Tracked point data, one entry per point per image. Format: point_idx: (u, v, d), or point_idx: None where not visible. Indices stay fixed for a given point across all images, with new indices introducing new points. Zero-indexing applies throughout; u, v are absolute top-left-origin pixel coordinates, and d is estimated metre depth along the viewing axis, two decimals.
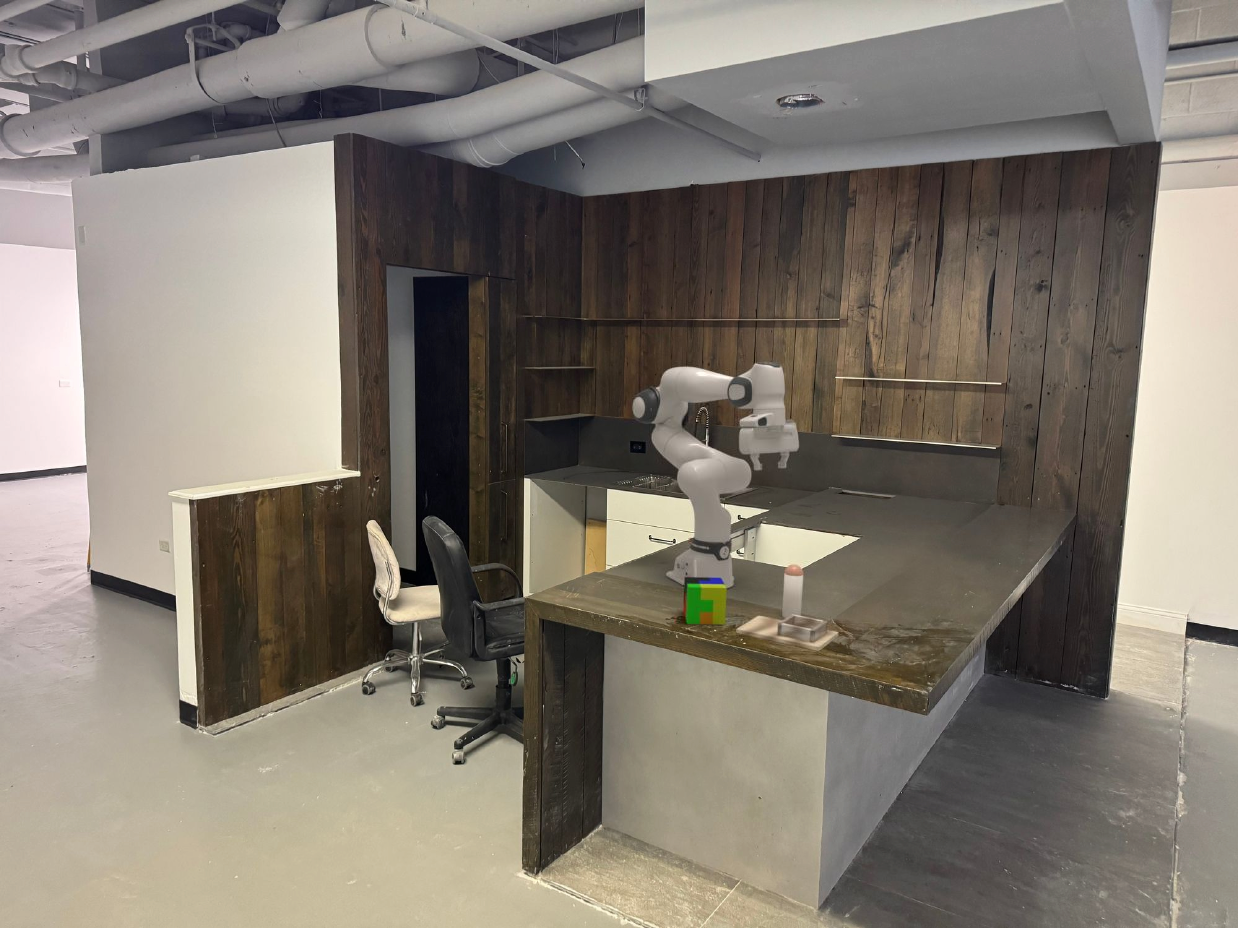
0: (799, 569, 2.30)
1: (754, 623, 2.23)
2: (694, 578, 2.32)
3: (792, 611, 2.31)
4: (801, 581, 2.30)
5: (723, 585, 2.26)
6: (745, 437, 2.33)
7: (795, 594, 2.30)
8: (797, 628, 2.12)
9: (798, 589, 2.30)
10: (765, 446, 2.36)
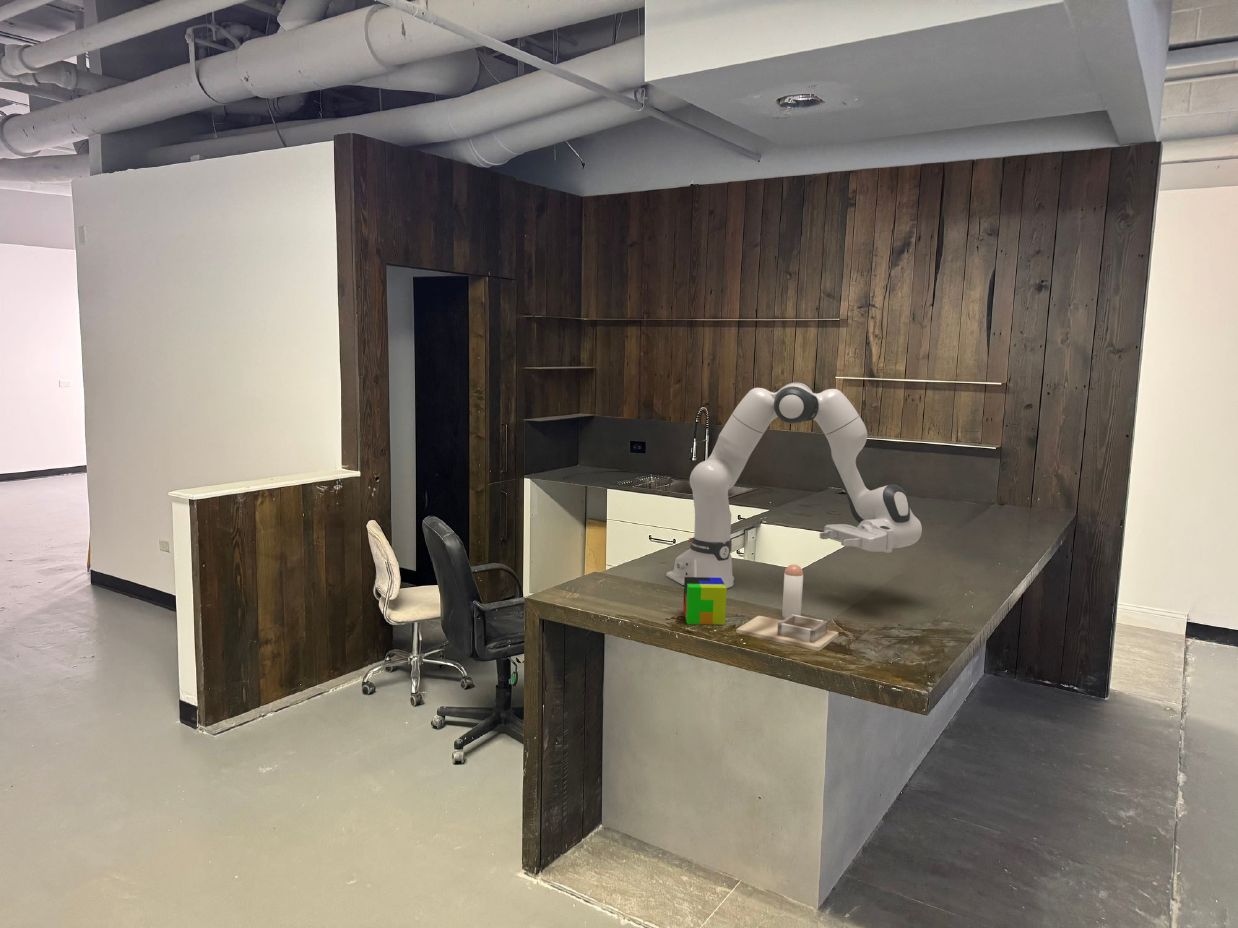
0: (799, 569, 2.30)
1: (754, 623, 2.23)
2: (694, 578, 2.32)
3: (792, 611, 2.31)
4: (801, 581, 2.30)
5: (723, 585, 2.26)
6: (882, 546, 2.30)
7: (795, 594, 2.30)
8: (797, 628, 2.12)
9: (798, 589, 2.30)
10: None
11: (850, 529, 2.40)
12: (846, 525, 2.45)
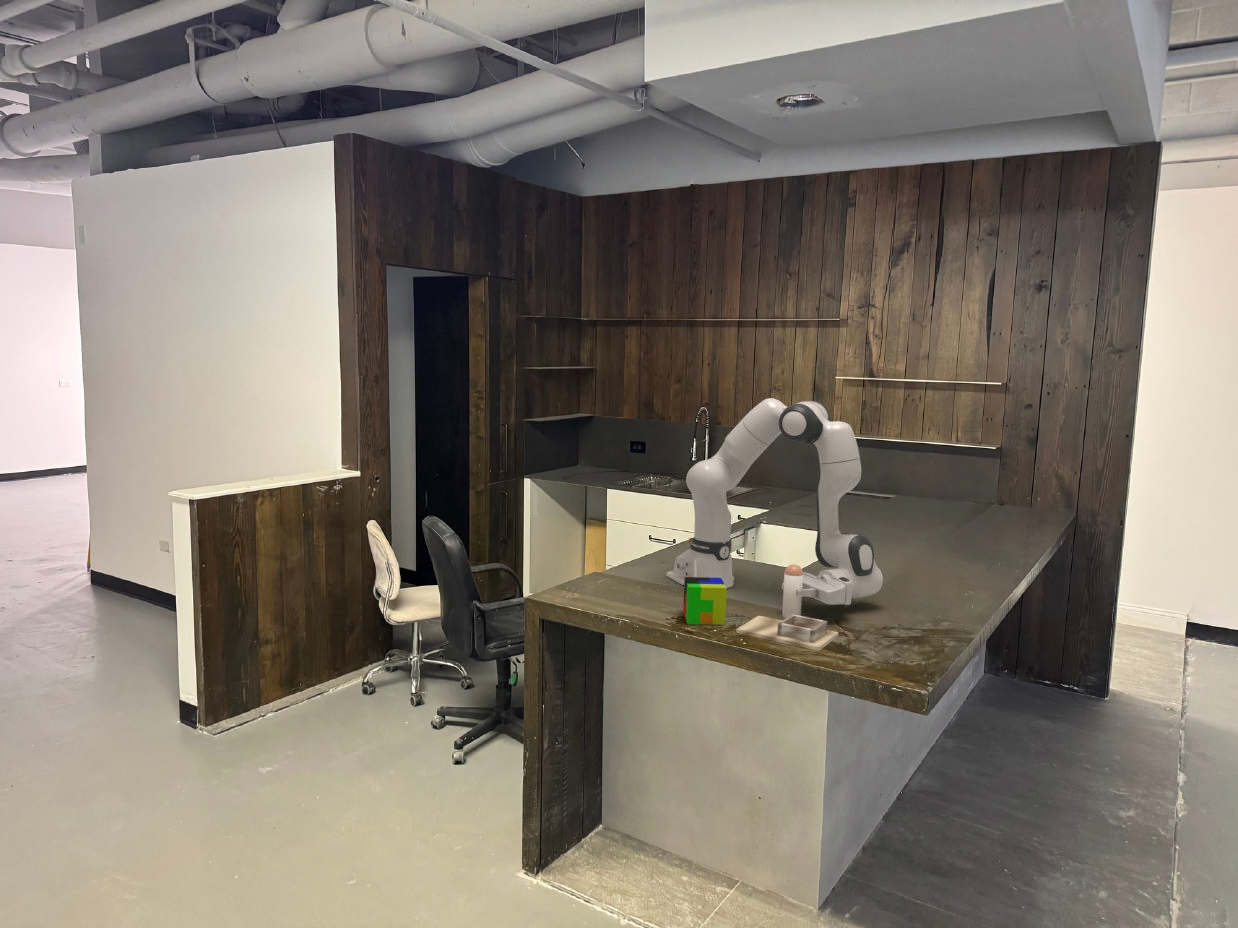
0: (799, 569, 2.30)
1: (754, 623, 2.23)
2: (694, 578, 2.32)
3: (792, 611, 2.31)
4: (801, 581, 2.30)
5: (723, 585, 2.26)
6: (840, 598, 2.27)
7: (795, 594, 2.30)
8: (797, 628, 2.12)
9: None
10: None
11: (809, 579, 2.36)
12: (806, 574, 2.42)
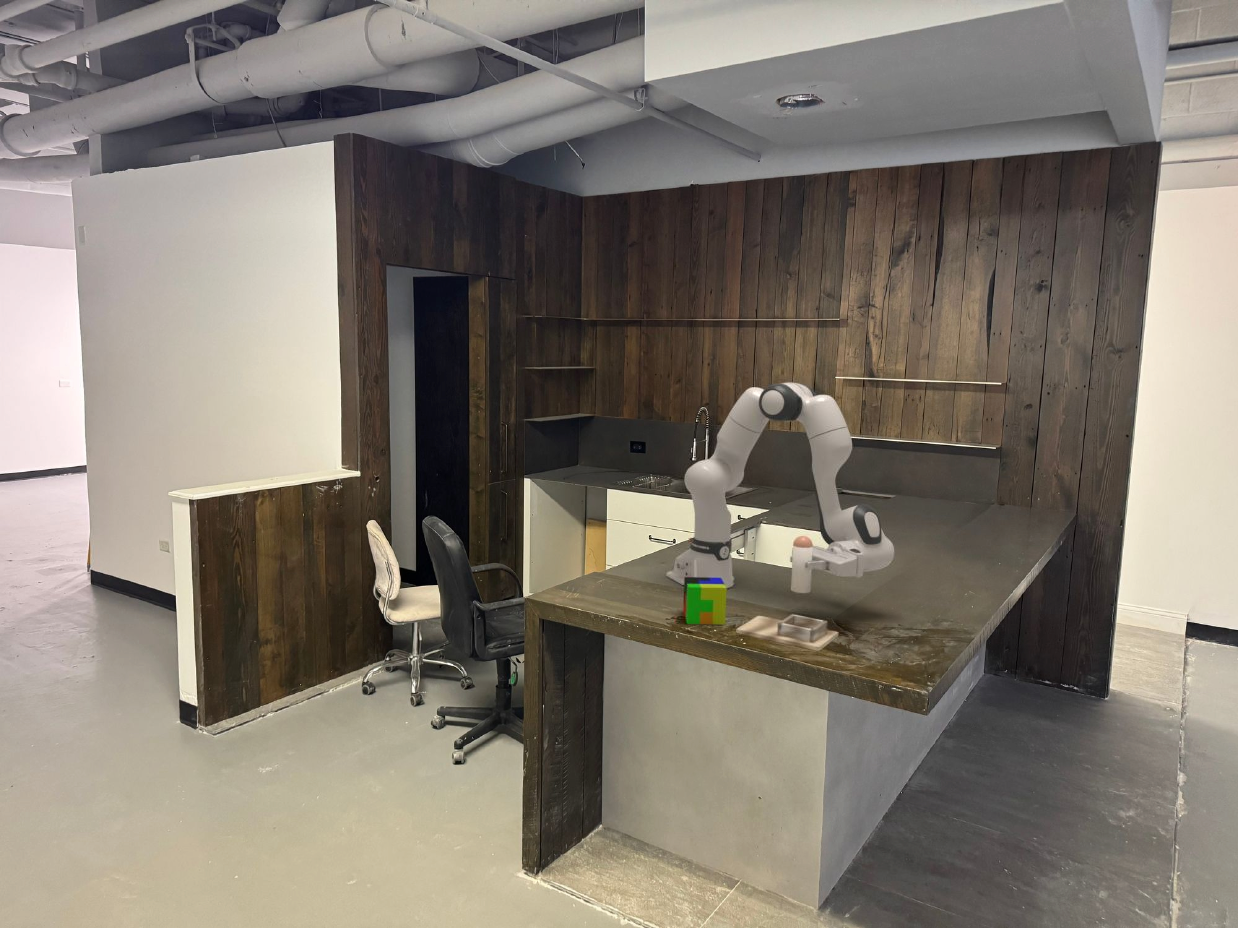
0: (808, 540, 2.21)
1: (754, 623, 2.23)
2: (694, 578, 2.32)
3: (801, 585, 2.21)
4: (810, 553, 2.21)
5: (723, 585, 2.26)
6: (851, 570, 2.18)
7: (805, 567, 2.21)
8: (797, 628, 2.12)
9: None
10: None
11: (819, 551, 2.27)
12: (815, 547, 2.33)
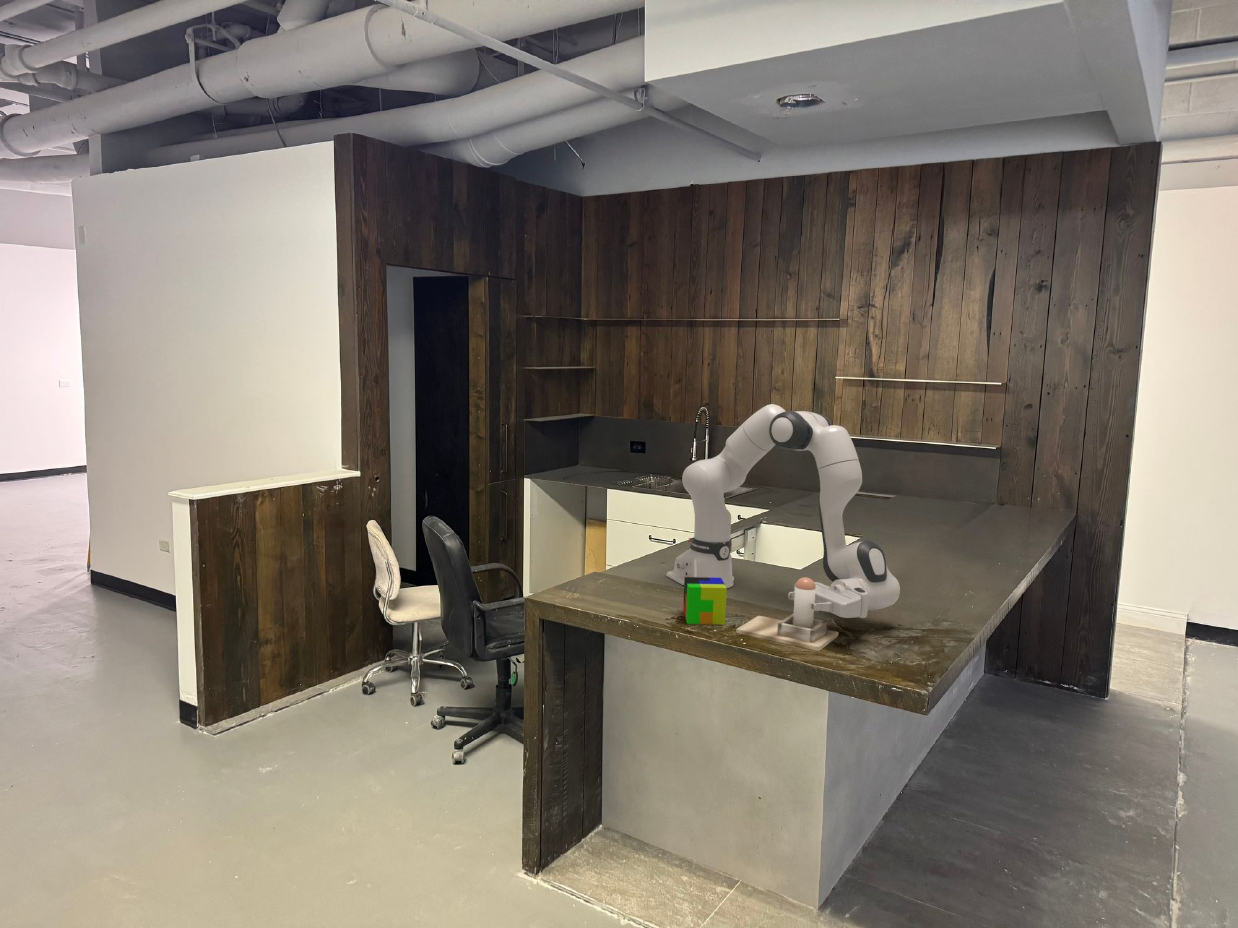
0: (811, 582, 2.13)
1: (754, 623, 2.23)
2: (694, 578, 2.32)
3: None
4: (813, 595, 2.13)
5: (723, 585, 2.26)
6: (855, 611, 2.10)
7: (807, 610, 2.13)
8: (797, 628, 2.12)
9: (810, 604, 2.13)
10: None
11: (822, 589, 2.19)
12: (818, 583, 2.25)
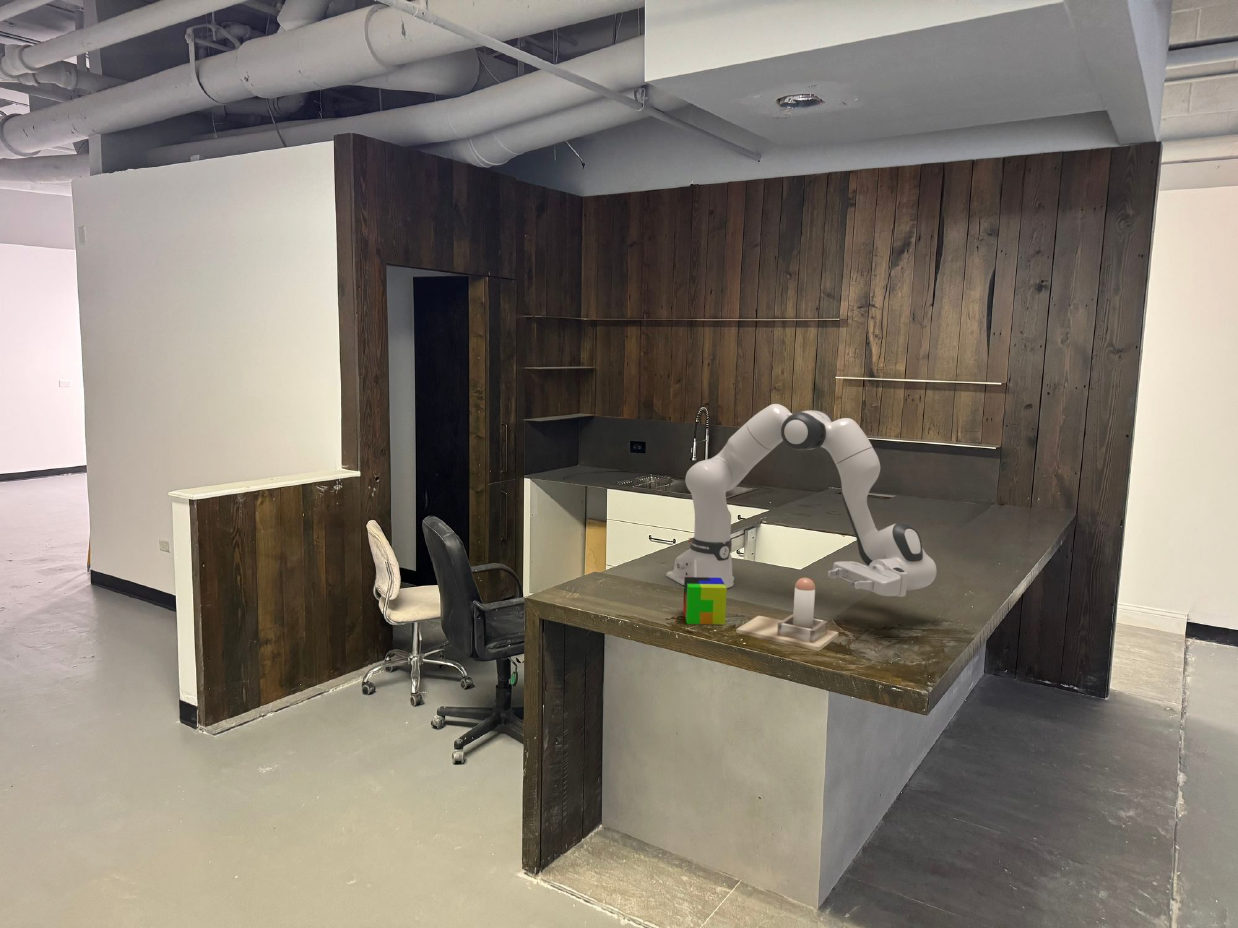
0: (811, 583, 2.13)
1: (754, 623, 2.23)
2: (694, 578, 2.32)
3: None
4: (813, 596, 2.13)
5: (723, 585, 2.26)
6: (895, 590, 2.15)
7: (807, 610, 2.13)
8: (797, 628, 2.12)
9: (810, 604, 2.13)
10: None
11: (861, 569, 2.24)
12: (856, 563, 2.30)
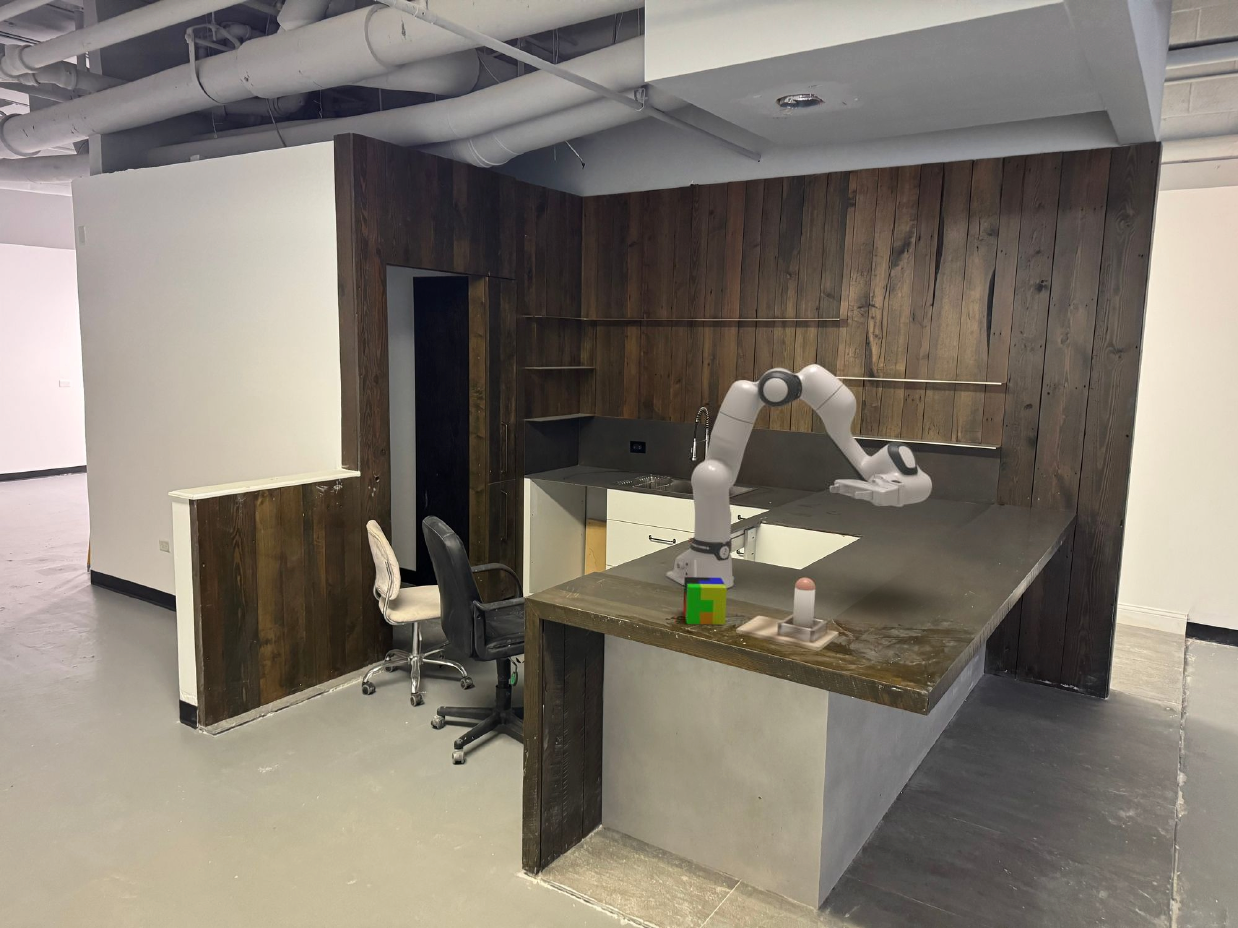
0: (811, 583, 2.13)
1: (754, 623, 2.23)
2: (694, 578, 2.32)
3: None
4: (813, 596, 2.13)
5: (723, 585, 2.26)
6: (893, 499, 2.28)
7: (807, 610, 2.13)
8: (797, 628, 2.12)
9: (810, 604, 2.13)
10: None
11: (861, 483, 2.38)
12: (856, 480, 2.43)
